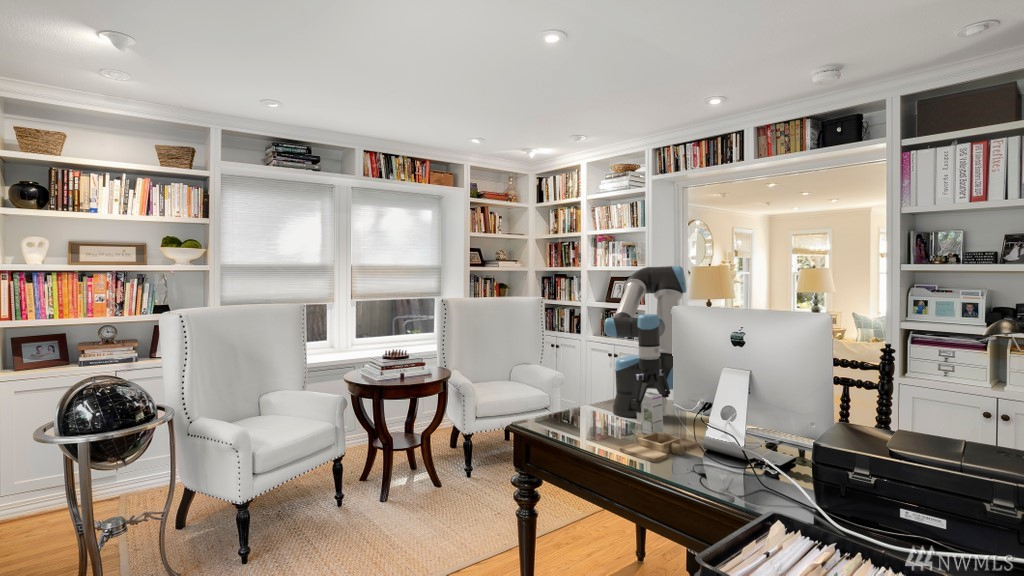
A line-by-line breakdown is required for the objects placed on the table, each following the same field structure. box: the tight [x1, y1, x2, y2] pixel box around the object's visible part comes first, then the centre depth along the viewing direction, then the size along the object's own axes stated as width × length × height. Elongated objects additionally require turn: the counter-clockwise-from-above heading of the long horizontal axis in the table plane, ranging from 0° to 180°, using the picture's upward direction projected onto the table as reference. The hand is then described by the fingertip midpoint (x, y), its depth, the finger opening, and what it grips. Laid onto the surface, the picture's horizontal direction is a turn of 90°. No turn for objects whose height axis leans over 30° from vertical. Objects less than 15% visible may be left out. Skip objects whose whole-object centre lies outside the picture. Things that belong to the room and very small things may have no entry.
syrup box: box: [640, 391, 665, 435], centre depth 192 cm, size 6×6×14 cm
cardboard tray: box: [619, 432, 700, 463], centre depth 176 cm, size 18×23×4 cm
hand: (651, 418), depth 193 cm, fingers open, 11 cm apart
